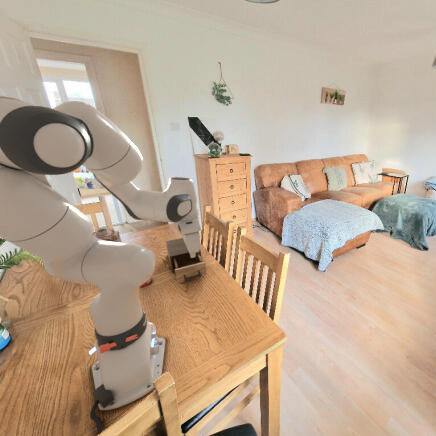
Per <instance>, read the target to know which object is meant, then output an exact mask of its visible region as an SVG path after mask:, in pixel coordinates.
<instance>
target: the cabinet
mask: <svg viewBox="0 0 436 436" xmlns="http://www.w3.org/2000/svg"><path fill="white" fill-rule="evenodd" d="M165 247H166V254H167V258H168V261H169V265H170V269H171V272H172V273H175V267H174V263H173V257H177V256H181V255H186V254H190V253H189V251H188V249H187V247H186V244H185V242H184V240H183V237H181V238H176V239H171V240H170V239H169V240H166V241H165ZM198 254H199V256H200V258H201V260H202V251H201V249H200V251H199V252H198ZM202 261H203V260H202Z"/></svg>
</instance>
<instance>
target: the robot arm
mask: <svg viewBox="0 0 436 436" xmlns="http://www.w3.org/2000/svg"><path fill="white" fill-rule="evenodd" d="M143 165H144V157H143V156H142V153H141V151H140V149H139V148H138V147H137V145H136V144H135V143H134V142H133V141H132V140H131V139H130V137H128V136H127V135H126V133H125V132H123V130H121V128H120V127H118V126H117V125H116V124H115V123H114V122H113V121H112V120H111V119H110V118H108V117H107V116H106V115H105V114H103V113H102V112H101V111H99V109H97V108H96V107H95V106H92V105H91V104H89V103H87V102H83V101H79V100H70V101H65V102H62V103H59V104H57V105H56V106H54V107H53V108H50V107H47V106H41V105H37V104H34V103H30V102H27V101H24V100H21V99H18V98H14V97H10V96H5V95H0V238H1V239H2V240H5V241H6V242H8V243H10V244H12V245H14V246H16V247H18V248H20V249H22V250H23V251H26V252H27V253H29V254H31V255H32V256H34V257H36V258H38V259H39V260H41V261H42V262H43V263H42V264H43V268H44V270H45V272H46V273H47V274H48V275H49V276H51V277H53V278H56V279H58V280H62V281H64V282H69V283H76V284H82V285H83V284H85V285H92V286H95V287H96V288H98V290H99V292H98V293H97V294H96V295H94V297H93V298H92V300H91V302H90V304H89V306H88V312H89V315H90V318H91V320H92V324H93V326H94V337H95V340H96V341H95V342H94V343H93V345H94V347H93V348H92V349H90V350H89V351H88V353H89V355H92V354H93V353H94V352H96V353H97V355H96V356H97V359H98V360H97V361H95V362H94V363H93V365H92V366H91V372H92V377H93V384H94V390H92V392H91V393H92V396H93V397H94V399H95V400H94V403H93V405H92V407H91V409H90V413H89V415H90V416H89V417H90V419H91V420H92V421H93V422H95V425H96V432H97V433H96V434H97V435H98V434H100V433H101V432H102V431H103V432H104V429H103V424H102V419H101V417H100V416H99V415H98V414H96V410H97V409H99V410H100V411H111V410H114V409H118V408H121V407H124V406H125V405H128V404H130V403H133V402H135V401H137V400H138V399H140V398H143V397H144V396H145V395H147V394H148V393H150V392H151V391H153V390H154V389H155V388H154V386H153V384H152V383H153V381H154V380H155V379H156V378H158V377H159V376H160V375H161V374H162V375H163V367H164V359H165V349H166V339H165V338H164V337H161V336H160V337H158V334H157V331H156V328H155V324H154V323H153V322H150V321H149V320H147V314H146V312H145V310H144V308H143V307H142V302H141V298H140V288H141V287H140V286H141V285H143V284H144V283H145V282H147V281H148V280H149V279H151V277H152V276H153V275H154V273H155V270H156V266H157V261H156V256H155V254H154V252H153V251H152V250H151V249H150V248H149V247H145V246H142V245H139V244H135V243H133V242H122V241H121V242H113V241H105V240H101V239H98V238H96V237H94V236H93V233H94V232H95V224H94V223H93V221H92V219H91V218H89V217H88V216H87V215H86V214H85V213H83V212H82V211H81V210H80V209H79V208H77V207H76V205H74V204H73V203H71V201H69V200H68V199H67V198H66V197H65V196H63V194H61V193H60V192H58V191H57V190H56V189H55V188H53V186H52V185H51V184H50V183H49V181H48V179H47V177H46V176H59V175H61V176H62V175H67V174H70V173H72V172H74V171H77V170H78V169H79V168H80V167H81V166H83V167H85V168H86V169H87V170H88V171H89V172H90V173H92V175H93V177H94V179H95V180H96V181H97V182H98V183H99V184H100V185H101V186H102V187H103V188H104V189H105V190H107V191H108V192H109V194H111V195H112V196H113V197H114V198H116V199H117V200H118V201H119V202H120V204H122V206H123V207H124V209H125V211H126V212H127V214H128V215H129V216H130V217H131V218H132V219H134V220H137V221H153V222H164V223H173V227H175V228H176V229H177V230H178V231H179V233H180V235H181V238H183V240H184V242H185V244H186V247H187V249H188V251H189V253H190V257H191V258H194V257H196V255H195V253H196V252H199V251H200V250H201V235H200V232H201V231H202V228H201V227H202V226H201V224H200V223H201V222H200V214H199V209H198V207H197V203H198V196H197V190H196V186H195V183H194V181H193V179H192V178H189V177H181V176H180V177H179V176H173V177H170V178H168V185H167V188H166V189H165V190H163V191H157V190H155V191H154V190H147V189H142V188H139V187H137V186H136V185H135V184H134V183H133V181H134V180H135V179H136V178H137V177H138V176H139V174H140V173H141V172H142V169H143Z"/></svg>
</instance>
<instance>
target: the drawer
mask: <svg viewBox="0 0 436 436" xmlns="http://www.w3.org/2000/svg"><path fill="white" fill-rule="evenodd" d="M195 255H196V257H194V258H191V257H190V254H186V255H181V256H177V257H173V263H174V267H175V272H174V273H175V279H176V284H181V283H185V282H188V281H191V280H195V279H198V278H202V277H205V276H207V268H206V267H207V266H206V262H205V261H203V260H201V259H202V257H201V258H200V256H199V254H198V252H196V253H195Z"/></svg>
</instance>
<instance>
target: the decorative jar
mask: <svg viewBox="0 0 436 436" xmlns="http://www.w3.org/2000/svg"><path fill="white" fill-rule="evenodd" d="M93 236H94V237H96V238H98V239H101V240H105V241H113V242H122V238H121V235H120V232H119V230H117V229H112V228H107V227H102V228H98V229H96V230H94V232H93Z"/></svg>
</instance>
